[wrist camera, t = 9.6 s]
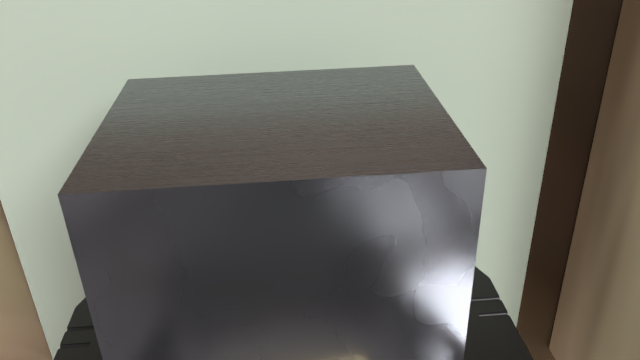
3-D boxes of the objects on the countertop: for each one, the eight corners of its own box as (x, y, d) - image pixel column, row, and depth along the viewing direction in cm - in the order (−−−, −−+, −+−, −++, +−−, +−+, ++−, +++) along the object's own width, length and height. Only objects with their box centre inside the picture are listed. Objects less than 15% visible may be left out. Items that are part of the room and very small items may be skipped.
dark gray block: (194, 430, 15) (167, 649, 11) (128, 79, 10) (40, 222, 6) (395, 413, 15) (444, 620, 11) (413, 65, 11) (504, 192, 7)
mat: (85, 410, 17) (77, 434, 16) (-51, -26, 11) (-71, -19, 11) (494, 377, 18) (504, 398, 17) (562, -50, 12) (581, -45, 11)
